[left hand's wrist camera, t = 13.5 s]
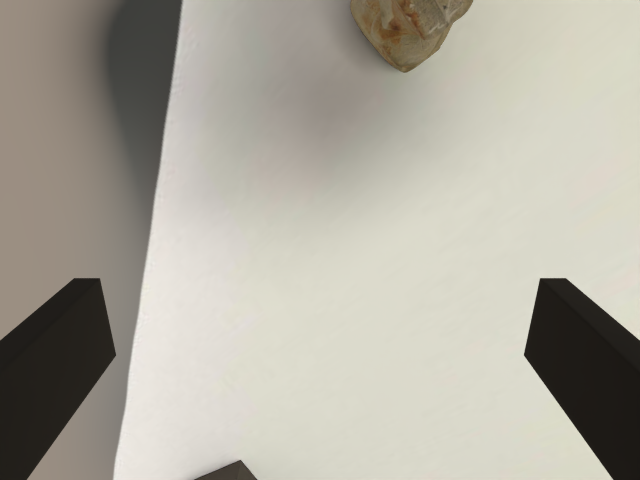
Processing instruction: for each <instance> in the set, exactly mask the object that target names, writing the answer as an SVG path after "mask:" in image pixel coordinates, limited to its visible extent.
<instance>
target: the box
mask: <svg viewBox="0 0 640 480" xmlns="http://www.w3.org/2000/svg"><path fill="white" fill-rule="evenodd" d="M196 480H257V479H256V478H255V477H254V476H253V475H252V473H251V472H250V471H249V470H248V469H247V467H246V466H245V465H244V464H243V463H242V461H238V462H236V463H233V464H231V465H229V466H226V467H224V468H222V469H219V470H217V471H215V472H212V473H210V474H207V475H205V476H203V477H200V478H198V479H196Z"/></svg>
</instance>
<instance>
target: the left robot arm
mask: <svg viewBox="0 0 640 480" xmlns="http://www.w3.org/2000/svg"><path fill="white" fill-rule="evenodd" d="M115 356H116V353H115V348H114V343H113V338H112V334H111V329H110V324H109V319H108V315H107V310H106V305H105V300H104V296H103V291H102V286H101V281H100V278H74V279H73V280H72V281H70V282H69V283H68V284H67V285H66V286H65V287H63V288H62V289H61V290H60V291H59V292H57V293H56V294H55V295H54V296H53V297H51V298H50V299H49V300H48V301H47V302H45V303H44V304H43V305H42V306H41V307H40V308H38V309H37V310H36V311H35V312H34V313H32V314H31V315H30V316H29V317H28V318H26V319H25V320H24V321H23V322H22V323H21V324H19V325H18V326H17V327H16V328H15V329H13V330H12V331H11V332H10V333H9V334H8V335H6V336H5V337H4V338H3V339H2V340H0V480H27V478H28V477H29V476H30V474H31V473H32V472H33V470H34V469H35V467H36V466H37V465H38V463H39V462H40V460H41V459H42V458H43V456H44V455H45V453H46V452H47V451H48V449H49V448H50V446H51V445H52V444H53V442H54V441H55V440H56V438H57V437H58V435H59V434H60V433H61V431H62V430H63V428H64V427H65V426H66V424H67V423H68V421H69V420H70V419H71V417H72V416H73V414H74V413H75V412H76V410H77V409H78V408H79V406H80V405H81V403H82V402H83V401H84V399H85V398H86V396H87V395H88V393H89V392H90V391H91V389H92V388H93V387H94V385H95V384H96V382H97V381H98V380H99V378H100V377H101V375H102V374H103V373H104V371H105V370H106V368H107V367H108V366H109V364H110V363H111V362H112V360H113V359H114V357H115ZM524 356H525V357H526V359H527V360H528V362H529V363H530V364H531V366H532V367H533V369H534V370H535V371H536V373H537V374H538V376H539V377H540V378H541V380H542V381H543V382H544V384H545V385H546V387H547V388H548V389H549V391H550V392H551V394H552V395H553V396H554V398H555V399H556V401H557V402H558V403H559V405H560V406H561V408H562V409H563V410H564V412H565V413H566V414H567V416H568V417H569V419H570V420H571V421H572V423H573V424H574V426H575V427H576V428H577V430H578V431H579V433H580V434H581V435H582V437H583V438H584V440H585V441H586V442H587V444H588V445H589V446H590V448H591V449H592V451H593V452H594V453H595V455H596V456H597V458H598V459H599V460H600V462H601V463H602V465H603V466H604V467H605V469H606V470H607V472H608V473H609V474H610V476H611V477H612V479H613V480H640V340H638V339H637V338H636V337H635V336H634V335H633V334H631V333H630V332H629V331H628V330H627V329H625V328H624V327H623V326H622V325H621V324H619V323H618V322H617V321H616V320H615V319H614V318H612V317H611V316H610V315H609V314H608V313H606V312H605V311H604V310H603V309H602V308H600V307H599V306H598V305H597V304H596V303H595V302H593V301H592V300H591V299H590V298H589V297H587V296H586V295H585V294H584V293H583V292H581V291H580V290H579V289H578V288H577V287H576V286H574V285H573V284H572V283H571V282H570V281H568V280H567V279H566V278H540V281H539V286H538V291H537V296H536V300H535V305H534V310H533V315H532V319H531V324H530V329H529V334H528V338H527V343H526V348H525V352H524Z"/></svg>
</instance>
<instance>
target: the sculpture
mask: <svg viewBox="0 0 640 480" xmlns="http://www.w3.org/2000/svg"><path fill="white" fill-rule="evenodd" d="M472 2H473V0H351V3H350V8H351V12H352V15H353V18H354V19H355V21H356V23H357V25H358V26H359V28H360V29H361V31H362V32H363V34H364V35H365V36H366V38H367V39H368V40H369V41H370V43H371V44H372V45H373V46H374V47H375V48H376V50H377V51H378V52H379V53H380V54H381V55H382V56H383V57H384V59H385V60H386V61H387V62H388V63H389V64H391V65H392V66H393V67H395V68H396V69H398V70H399V71H401V72H404V73H405V72H408V71H410V70H412V69H414V68H415V67H417V66H418V65H419V64H421V63H422V62H423V61H425V60H426V59H427V58H429V57H430V56H431V55H433V54H434V53H435V52H436V51H437V50H439V48H440V46H441V44H442V43H443V41H444V40H445V38H446V36H447V34H448V32H449V30H450V28H451V26H452V24H453V23H454V22H455V21H456V20H458V19H459V18H460V17H462V16H463V15H464V14H465V13H466V12H467V11H468V9H469V8H470V6H471V4H472Z"/></svg>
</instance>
